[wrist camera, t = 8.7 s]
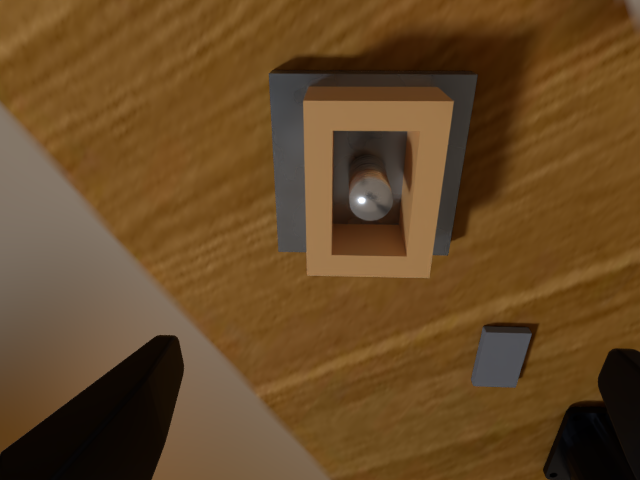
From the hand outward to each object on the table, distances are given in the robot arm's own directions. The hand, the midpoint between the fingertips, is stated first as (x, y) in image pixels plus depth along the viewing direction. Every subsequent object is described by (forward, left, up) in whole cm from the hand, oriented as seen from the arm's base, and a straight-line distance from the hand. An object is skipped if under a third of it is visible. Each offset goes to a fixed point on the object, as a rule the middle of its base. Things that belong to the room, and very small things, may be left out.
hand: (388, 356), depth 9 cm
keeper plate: (0, 0, -12) cm, 12 cm away
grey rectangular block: (-11, -8, -12) cm, 18 cm away
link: (0, 0, -11) cm, 11 cm away
